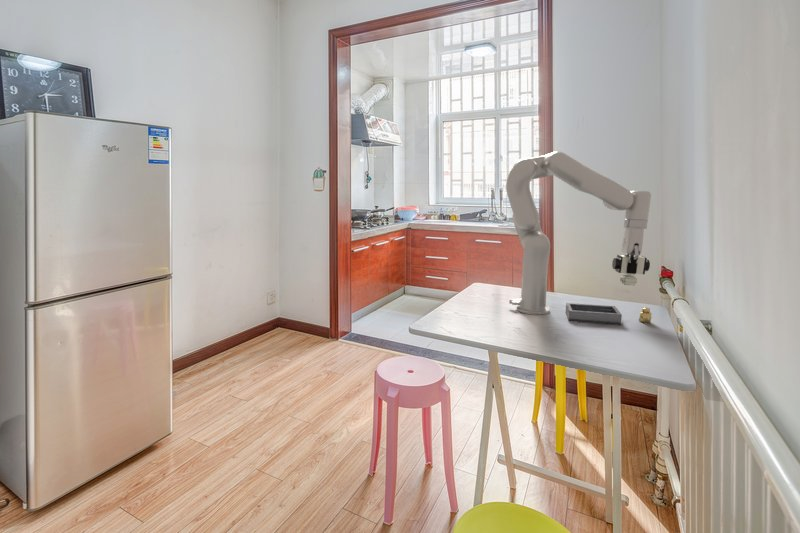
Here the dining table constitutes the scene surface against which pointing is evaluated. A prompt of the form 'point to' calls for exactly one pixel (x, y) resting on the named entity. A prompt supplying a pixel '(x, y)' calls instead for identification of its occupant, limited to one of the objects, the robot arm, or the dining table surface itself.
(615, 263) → the pneumatic valve
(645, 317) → the brass fitting
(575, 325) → the dining table surface
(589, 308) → the gray rectangular tray
